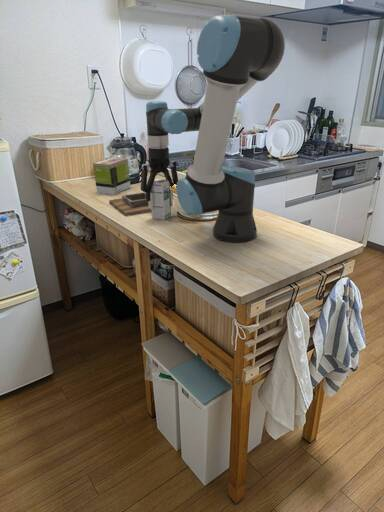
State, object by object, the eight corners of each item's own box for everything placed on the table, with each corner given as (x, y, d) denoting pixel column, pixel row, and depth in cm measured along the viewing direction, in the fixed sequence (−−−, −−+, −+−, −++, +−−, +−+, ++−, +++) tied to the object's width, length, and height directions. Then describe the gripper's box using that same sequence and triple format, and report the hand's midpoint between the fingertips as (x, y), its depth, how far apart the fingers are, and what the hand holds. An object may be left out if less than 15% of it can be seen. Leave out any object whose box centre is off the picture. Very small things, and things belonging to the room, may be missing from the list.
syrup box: (164, 220, 145) (163, 183, 139) (151, 218, 147) (149, 181, 141) (171, 215, 150) (170, 179, 144) (158, 213, 152) (156, 178, 146)
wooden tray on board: (170, 208, 158) (170, 199, 157) (125, 216, 149) (124, 206, 148) (150, 197, 174) (150, 188, 172) (109, 203, 165) (108, 194, 163)
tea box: (114, 186, 193) (112, 156, 187) (131, 188, 189) (128, 158, 183) (96, 193, 181) (92, 162, 175) (113, 195, 177) (109, 164, 171)
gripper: (178, 143, 145) (179, 200, 154) (128, 147, 135) (132, 208, 145) (188, 146, 139) (188, 205, 148) (135, 151, 129) (140, 213, 139)
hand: (160, 206), depth 147 cm, fingers closed on syrup box, 8 cm apart
